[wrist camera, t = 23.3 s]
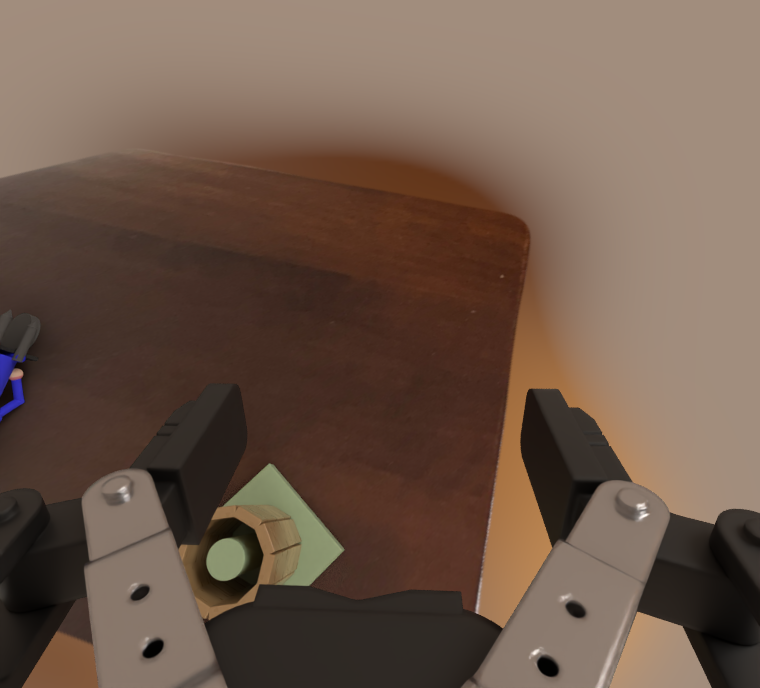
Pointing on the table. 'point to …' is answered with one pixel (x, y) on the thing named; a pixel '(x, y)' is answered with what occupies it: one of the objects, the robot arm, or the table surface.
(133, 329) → the table surface
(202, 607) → the tan hollow cylinder
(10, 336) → the character figurine
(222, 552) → the stand
